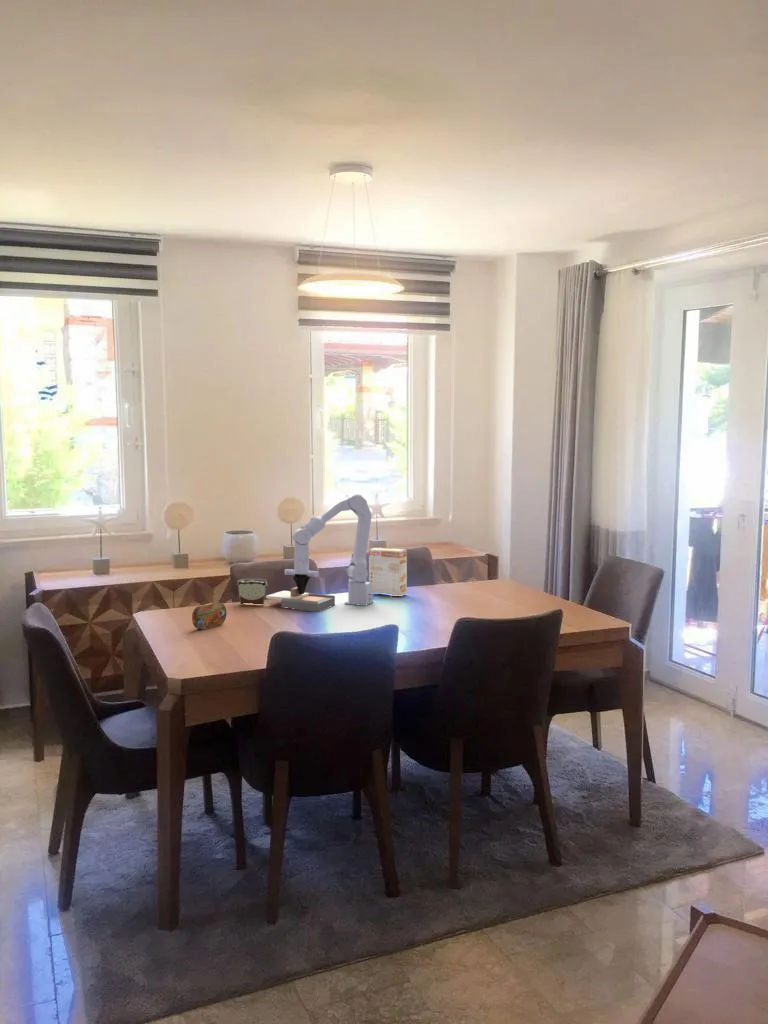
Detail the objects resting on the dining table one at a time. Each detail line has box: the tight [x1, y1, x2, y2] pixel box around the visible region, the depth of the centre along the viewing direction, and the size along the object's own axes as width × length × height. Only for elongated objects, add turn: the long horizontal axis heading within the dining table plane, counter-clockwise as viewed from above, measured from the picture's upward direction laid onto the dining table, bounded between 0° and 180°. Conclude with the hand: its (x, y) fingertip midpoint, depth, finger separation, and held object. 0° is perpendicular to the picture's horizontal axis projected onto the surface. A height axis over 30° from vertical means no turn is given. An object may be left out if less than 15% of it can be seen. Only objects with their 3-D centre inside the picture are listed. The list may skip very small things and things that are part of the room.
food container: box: [236, 578, 269, 605], centre depth 343 cm, size 12×6×10 cm, turn 84°
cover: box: [265, 586, 310, 601], centre depth 343 cm, size 12×13×4 cm
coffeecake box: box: [368, 547, 408, 595], centre depth 366 cm, size 15×7×20 cm, turn 59°
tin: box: [191, 601, 227, 631], centre depth 302 cm, size 15×3×8 cm, turn 148°
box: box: [280, 592, 336, 612], centre depth 339 cm, size 16×14×4 cm
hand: (301, 593), depth 340 cm, fingers closed
